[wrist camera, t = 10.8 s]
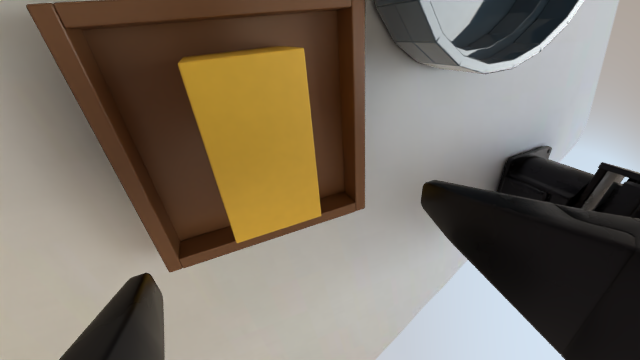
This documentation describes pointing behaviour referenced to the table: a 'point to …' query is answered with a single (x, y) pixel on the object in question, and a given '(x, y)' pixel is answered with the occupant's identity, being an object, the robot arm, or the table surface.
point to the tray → (176, 112)
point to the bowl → (475, 30)
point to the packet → (257, 135)
